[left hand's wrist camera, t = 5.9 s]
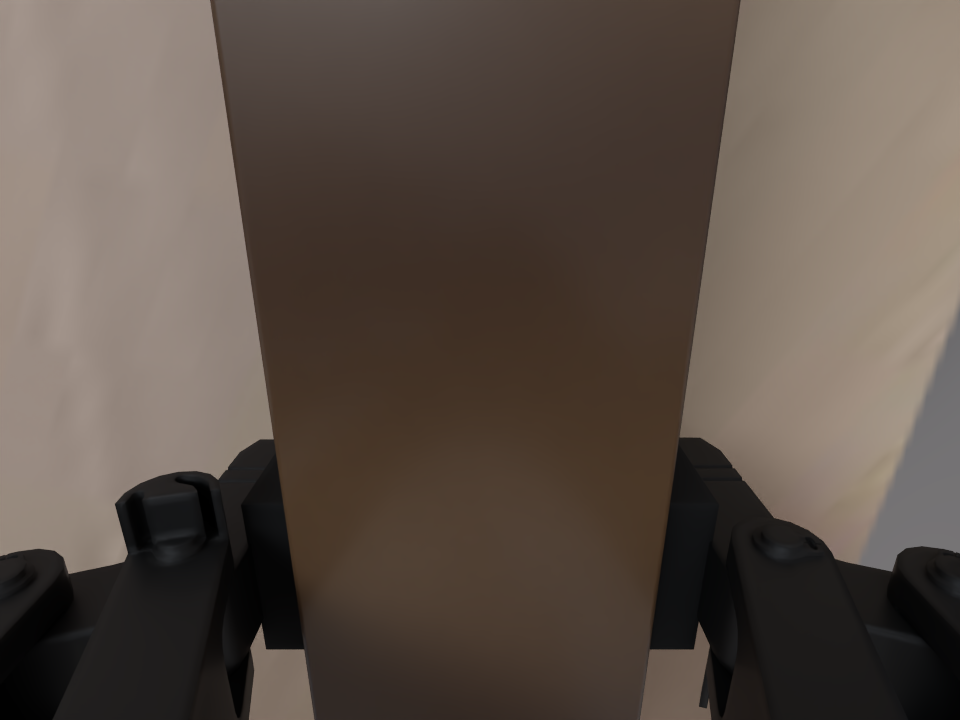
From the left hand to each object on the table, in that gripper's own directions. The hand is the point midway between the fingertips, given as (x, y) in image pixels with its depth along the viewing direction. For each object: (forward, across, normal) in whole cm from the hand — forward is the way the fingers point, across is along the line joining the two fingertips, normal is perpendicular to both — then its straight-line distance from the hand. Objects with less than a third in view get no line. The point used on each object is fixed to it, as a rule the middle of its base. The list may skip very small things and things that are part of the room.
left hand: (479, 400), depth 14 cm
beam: (+1, 0, -21) cm, 21 cm away
